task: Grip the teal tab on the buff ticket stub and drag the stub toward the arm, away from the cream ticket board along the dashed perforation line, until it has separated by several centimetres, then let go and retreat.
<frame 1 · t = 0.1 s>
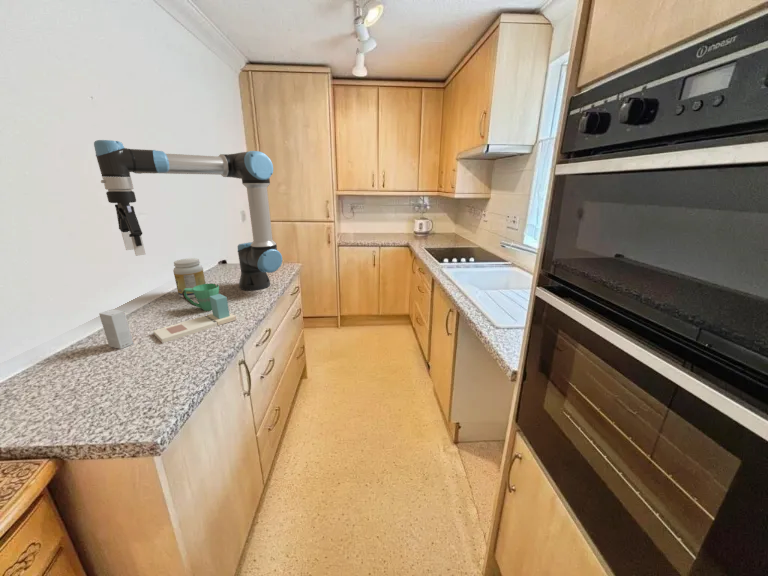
hand: (135, 252, 113), 28 cm above the counter, fingers open, 13 cm apart
skincare box: (121, 345, 106), on the counter
mug: (204, 309, 136), on the counter
supplement tub: (193, 294, 153), on the counter
ticket: (186, 330, 117), on the counter
stub: (220, 308, 124), point 5 cm above the counter, slide at 0.0 cm
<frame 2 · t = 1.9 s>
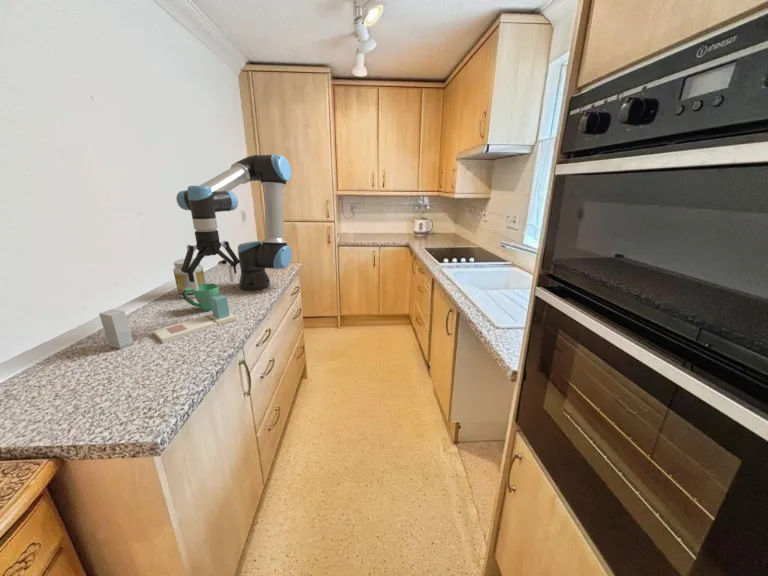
hand: (215, 285, 121), 14 cm above the counter, fingers open, 13 cm apart
nothing on the counter moved.
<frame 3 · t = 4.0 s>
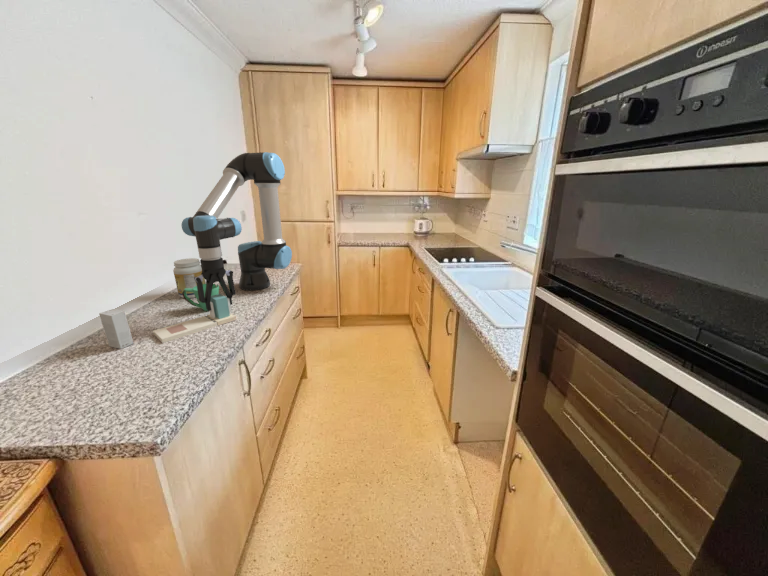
hand: (221, 314, 125), 2 cm above the counter, fingers closed on stub, 6 cm apart
stub: (219, 308, 124), point 5 cm above the counter, slide at 0.0 cm, touching gripper
everything else where it was.
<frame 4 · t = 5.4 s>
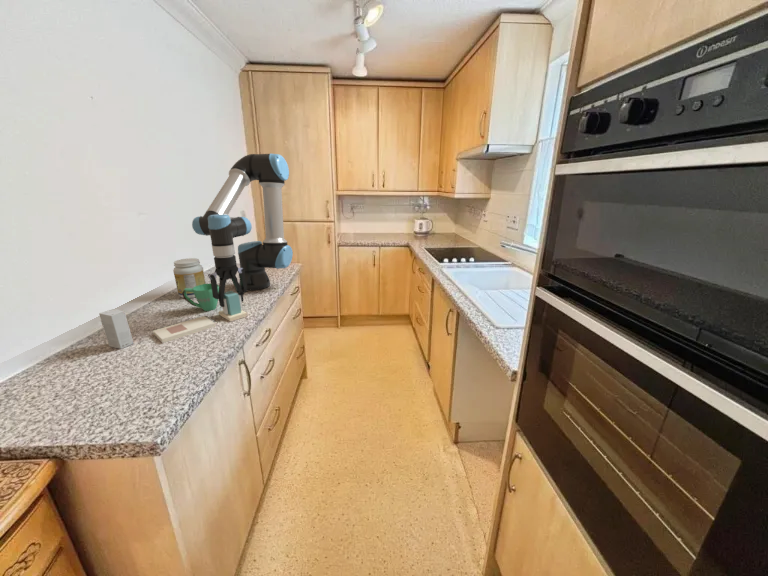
hand: (233, 311, 129), 2 cm above the counter, fingers open, 5 cm apart
stub: (231, 304, 128), point 5 cm above the counter, slide at 4.6 cm, touching gripper
everything else where it was.
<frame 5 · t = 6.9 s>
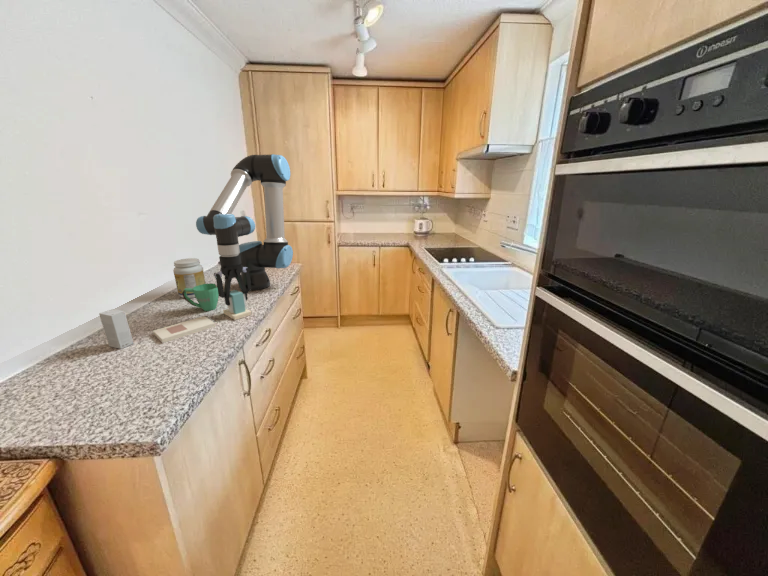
hand: (238, 309, 130), 2 cm above the counter, fingers closed on stub, 5 cm apart
stub: (236, 303, 129), point 5 cm above the counter, slide at 6.4 cm, touching gripper
everything else where it was.
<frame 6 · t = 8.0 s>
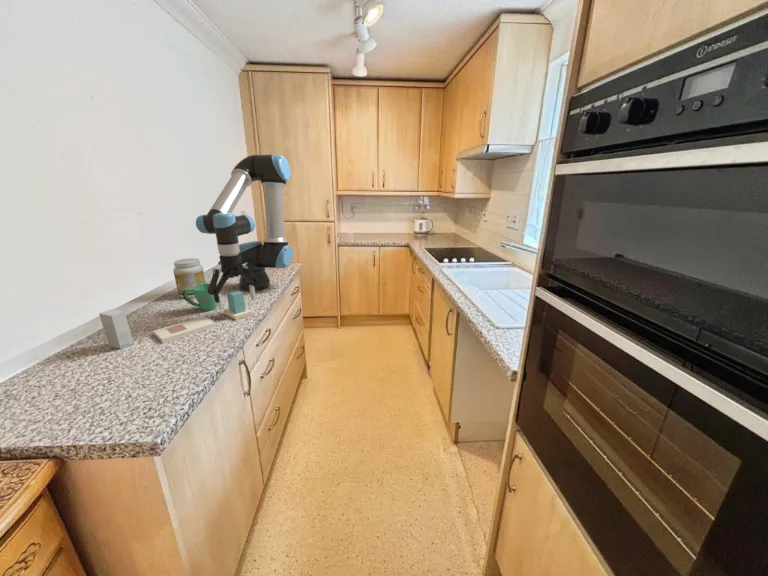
hand: (238, 304, 130), 4 cm above the counter, fingers open, 13 cm apart
stub: (236, 303, 129), point 5 cm above the counter, slide at 6.6 cm
everything else where it was.
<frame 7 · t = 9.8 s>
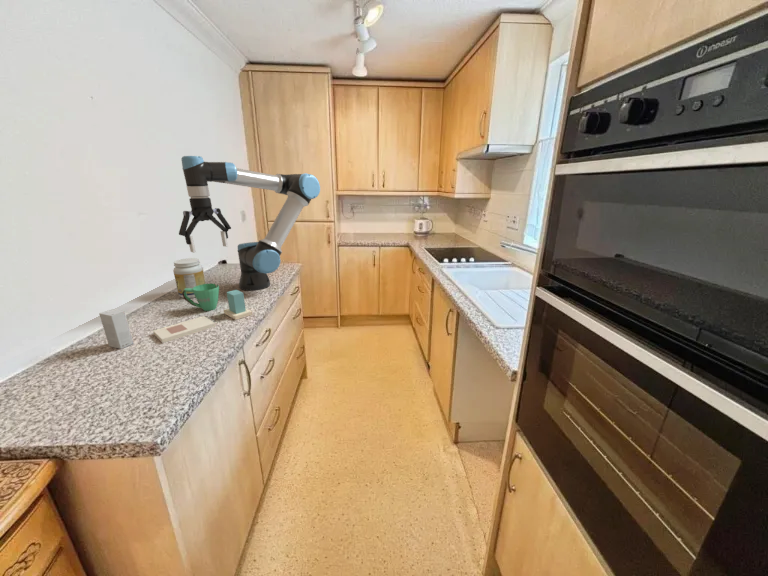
hand: (209, 249, 134), 25 cm above the counter, fingers open, 13 cm apart
nothing on the counter moved.
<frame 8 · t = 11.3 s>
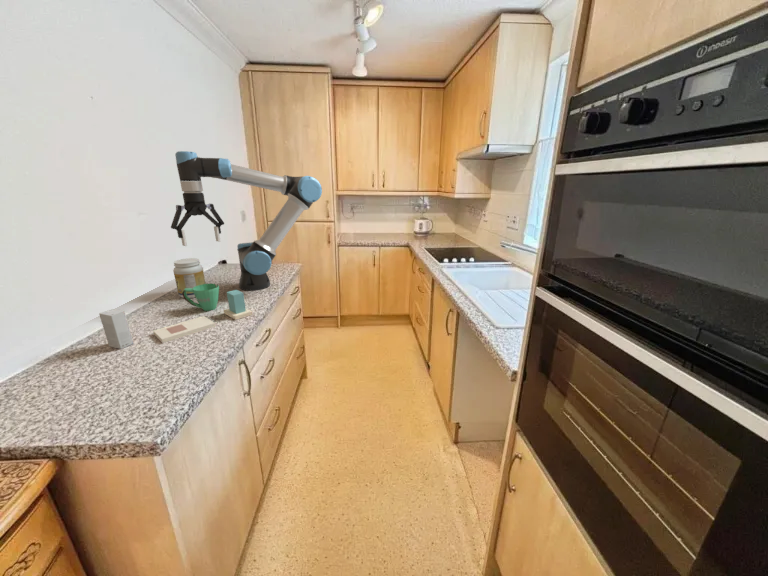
hand: (202, 243, 136), 27 cm above the counter, fingers open, 13 cm apart
nothing on the counter moved.
at the end: stub slide at 6.6 cm; the gripper is holding nothing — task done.
